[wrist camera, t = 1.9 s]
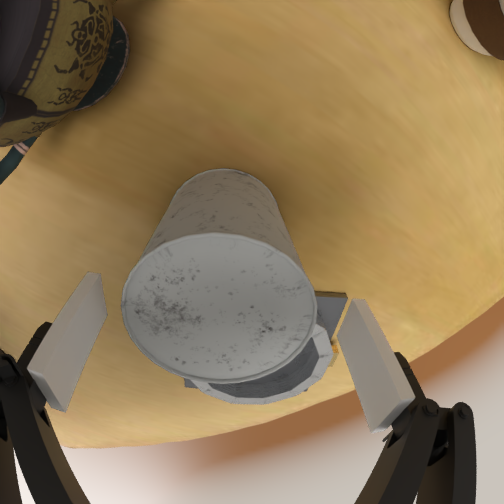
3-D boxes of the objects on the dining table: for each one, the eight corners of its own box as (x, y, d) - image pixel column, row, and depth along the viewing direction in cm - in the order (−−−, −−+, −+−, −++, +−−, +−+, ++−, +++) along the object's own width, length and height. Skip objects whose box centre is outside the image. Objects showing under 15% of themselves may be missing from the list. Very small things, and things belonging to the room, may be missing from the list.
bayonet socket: (177, 381, 34) (175, 399, 31) (174, 279, 26) (169, 298, 24) (312, 386, 36) (316, 403, 33) (353, 293, 29) (364, 311, 26)
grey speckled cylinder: (232, 143, 21) (232, 183, 10) (301, 232, 25) (349, 330, 14) (144, 217, 23) (86, 309, 13) (217, 290, 27) (212, 400, 16)
